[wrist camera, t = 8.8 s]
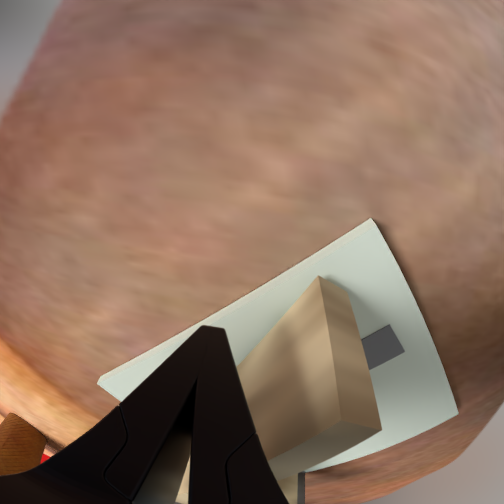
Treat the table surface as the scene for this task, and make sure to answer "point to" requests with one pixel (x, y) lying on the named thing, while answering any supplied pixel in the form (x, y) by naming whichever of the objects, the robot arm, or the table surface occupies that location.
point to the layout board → (370, 329)
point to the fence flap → (308, 385)
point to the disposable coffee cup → (19, 445)
